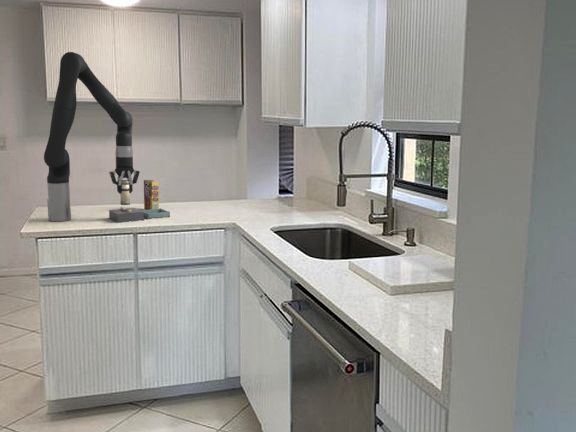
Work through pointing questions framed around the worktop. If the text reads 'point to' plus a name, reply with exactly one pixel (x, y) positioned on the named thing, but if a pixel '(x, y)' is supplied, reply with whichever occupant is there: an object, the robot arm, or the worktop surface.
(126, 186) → the fuse
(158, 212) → the tray
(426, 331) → the worktop surface
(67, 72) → the robot arm
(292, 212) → the worktop surface
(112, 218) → the fuse block
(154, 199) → the candy box
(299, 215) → the worktop surface
